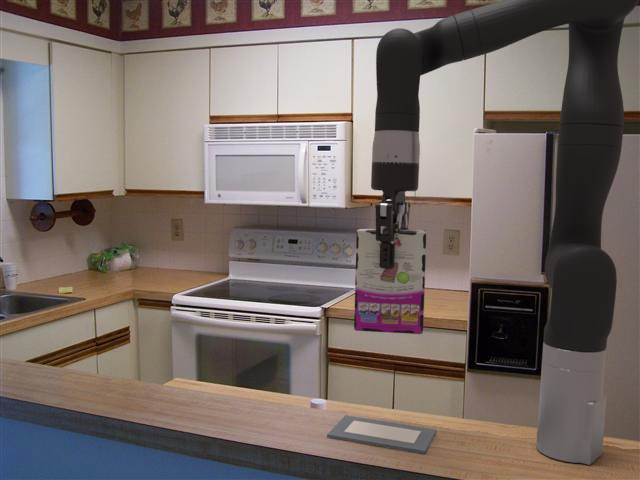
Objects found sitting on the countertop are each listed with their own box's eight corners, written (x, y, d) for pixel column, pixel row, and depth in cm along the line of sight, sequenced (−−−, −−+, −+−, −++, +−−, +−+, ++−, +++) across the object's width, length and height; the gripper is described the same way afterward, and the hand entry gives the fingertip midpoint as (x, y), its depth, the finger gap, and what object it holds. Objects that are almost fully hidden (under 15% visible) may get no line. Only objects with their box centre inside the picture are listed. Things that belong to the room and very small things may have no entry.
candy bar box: (422, 328, 112) (427, 229, 111) (423, 335, 107) (427, 231, 106) (355, 324, 114) (358, 226, 112) (352, 331, 109) (356, 228, 107)
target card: (436, 432, 114) (436, 428, 114) (425, 454, 105) (425, 450, 104) (345, 417, 119) (345, 414, 119) (326, 437, 110) (327, 433, 110)
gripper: (409, 159, 100) (404, 273, 101) (427, 163, 113) (422, 263, 115) (360, 158, 102) (356, 269, 104) (383, 162, 116) (379, 260, 117)
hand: (391, 265), depth 109 cm, fingers closed on candy bar box, 5 cm apart
